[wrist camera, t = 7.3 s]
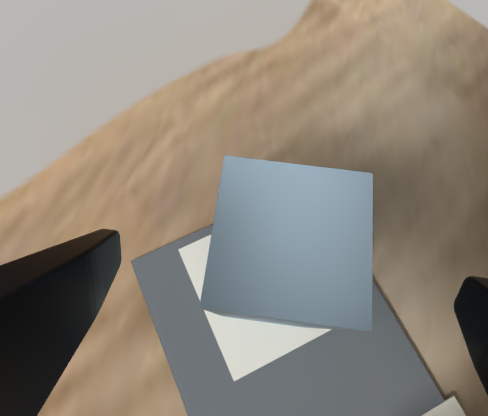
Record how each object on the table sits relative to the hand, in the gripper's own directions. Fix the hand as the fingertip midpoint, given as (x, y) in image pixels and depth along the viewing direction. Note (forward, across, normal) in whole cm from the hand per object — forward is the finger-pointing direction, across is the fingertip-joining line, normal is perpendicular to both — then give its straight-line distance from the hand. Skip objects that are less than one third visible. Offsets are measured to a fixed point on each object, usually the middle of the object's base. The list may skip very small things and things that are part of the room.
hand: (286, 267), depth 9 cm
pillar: (+7, 0, +6) cm, 9 cm away
